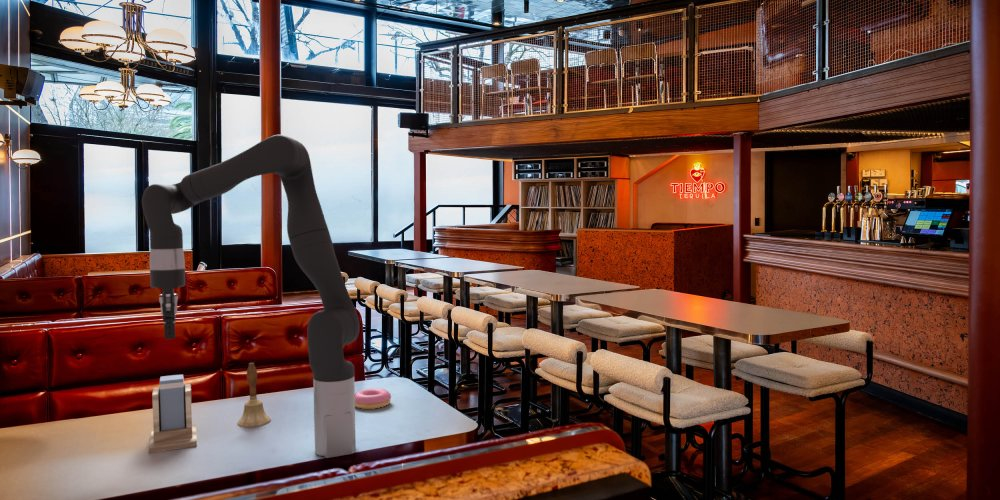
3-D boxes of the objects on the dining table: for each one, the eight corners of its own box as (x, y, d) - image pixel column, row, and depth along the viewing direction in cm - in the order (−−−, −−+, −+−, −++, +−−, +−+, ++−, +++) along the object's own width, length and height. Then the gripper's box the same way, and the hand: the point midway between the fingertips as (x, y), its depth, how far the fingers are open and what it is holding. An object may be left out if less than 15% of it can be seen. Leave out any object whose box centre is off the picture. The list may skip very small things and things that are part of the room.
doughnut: (365, 413, 177) (365, 398, 177) (345, 405, 185) (345, 391, 185) (398, 405, 185) (398, 391, 184) (378, 397, 193) (378, 384, 192)
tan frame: (196, 445, 152) (195, 393, 152) (149, 453, 148) (147, 399, 147) (195, 428, 165) (194, 380, 164) (151, 434, 160) (150, 385, 160)
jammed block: (185, 435, 155) (183, 378, 154) (161, 439, 153) (159, 381, 152) (185, 429, 160) (183, 374, 159) (162, 432, 157) (160, 376, 157)
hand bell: (248, 429, 164) (246, 368, 163) (231, 423, 169) (229, 363, 168) (277, 421, 171) (275, 362, 170) (259, 415, 176) (257, 358, 175)
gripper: (184, 268, 150) (187, 341, 151) (184, 265, 162) (187, 333, 163) (148, 270, 147) (151, 344, 147) (151, 266, 158) (153, 335, 159)
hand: (170, 338), depth 155 cm, fingers closed
